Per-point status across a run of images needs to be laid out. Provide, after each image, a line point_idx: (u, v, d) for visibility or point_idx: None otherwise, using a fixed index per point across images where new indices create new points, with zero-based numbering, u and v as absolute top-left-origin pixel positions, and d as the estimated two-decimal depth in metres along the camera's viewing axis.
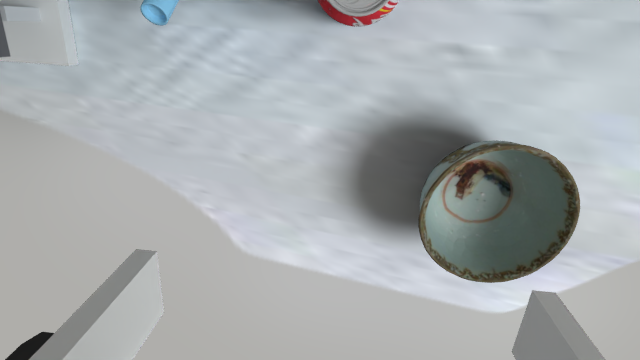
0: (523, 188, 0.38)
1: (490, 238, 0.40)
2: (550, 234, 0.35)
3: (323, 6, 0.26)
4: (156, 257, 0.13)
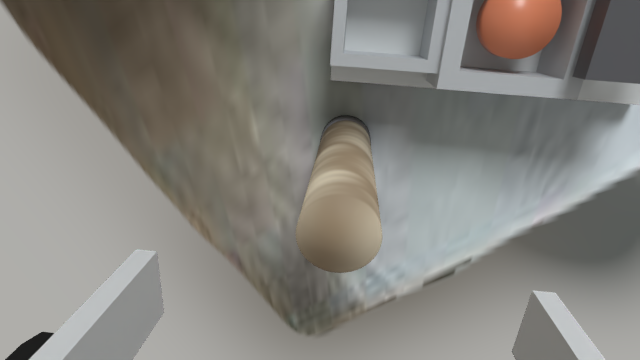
0: None
1: None
2: None
3: None
4: (156, 257, 0.13)
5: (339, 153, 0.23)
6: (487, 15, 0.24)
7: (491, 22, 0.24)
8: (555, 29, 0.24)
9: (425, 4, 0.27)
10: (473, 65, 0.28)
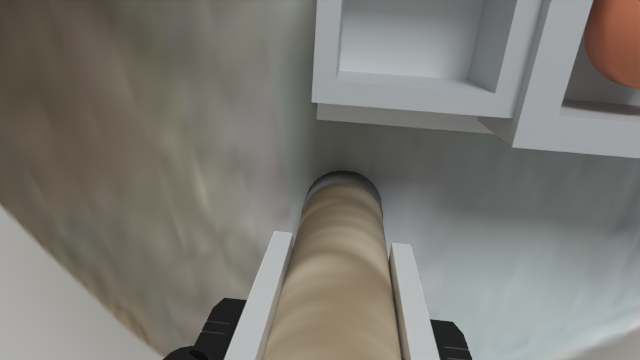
0: None
1: None
2: None
3: None
4: (292, 238, 0.15)
5: (327, 292, 0.11)
6: (620, 8, 0.12)
7: (627, 22, 0.12)
8: None
9: None
10: None
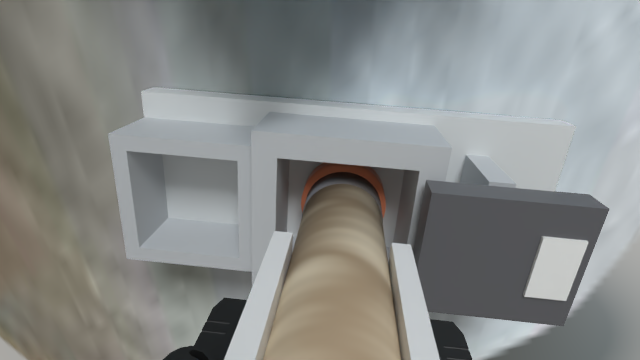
0: None
1: None
2: None
3: None
4: (292, 238, 0.15)
5: (327, 293, 0.11)
6: (304, 199, 0.21)
7: None
8: None
9: None
10: None
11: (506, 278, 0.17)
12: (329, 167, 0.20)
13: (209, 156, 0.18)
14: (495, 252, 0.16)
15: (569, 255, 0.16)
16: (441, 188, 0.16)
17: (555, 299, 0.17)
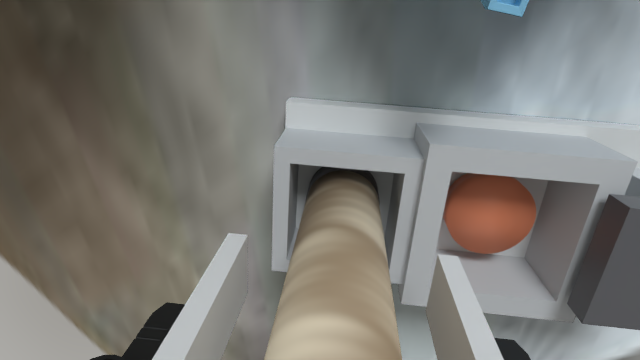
0: None
1: None
2: None
3: None
4: (246, 240, 0.15)
5: (330, 256, 0.13)
6: (451, 211, 0.21)
7: (456, 218, 0.21)
8: (529, 227, 0.21)
9: (390, 185, 0.22)
10: (449, 248, 0.23)
11: None
12: (483, 179, 0.20)
13: (376, 169, 0.18)
14: None
15: None
16: (633, 203, 0.16)
17: None
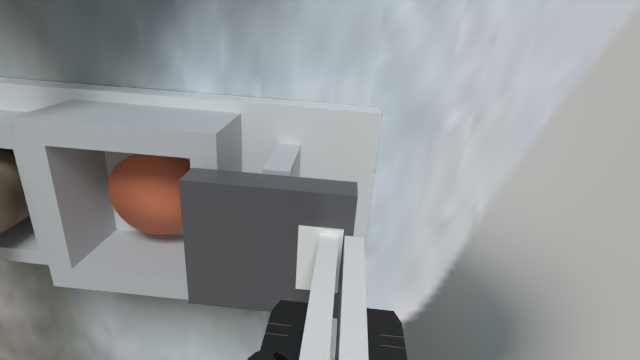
0: None
1: None
2: None
3: None
4: None
5: None
6: (111, 190, 0.20)
7: (118, 197, 0.20)
8: None
9: None
10: None
11: (276, 270, 0.16)
12: (129, 156, 0.19)
13: None
14: (257, 242, 0.16)
15: None
16: (195, 176, 0.15)
17: None
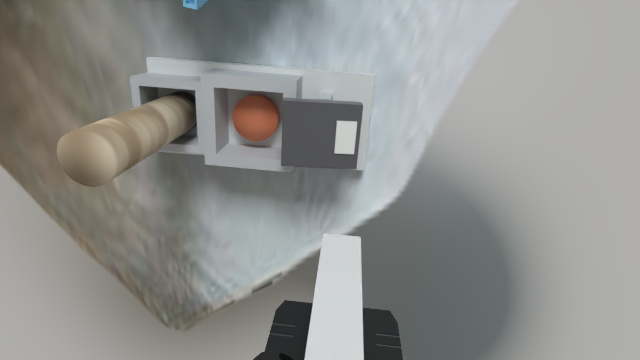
0: None
1: None
2: None
3: None
4: None
5: (128, 110, 0.31)
6: (234, 116, 0.39)
7: (237, 120, 0.39)
8: (275, 124, 0.39)
9: None
10: (246, 143, 0.41)
11: (325, 144, 0.35)
12: (246, 97, 0.38)
13: (180, 88, 0.36)
14: (317, 130, 0.34)
15: (350, 129, 0.34)
16: (288, 99, 0.34)
17: (349, 153, 0.35)
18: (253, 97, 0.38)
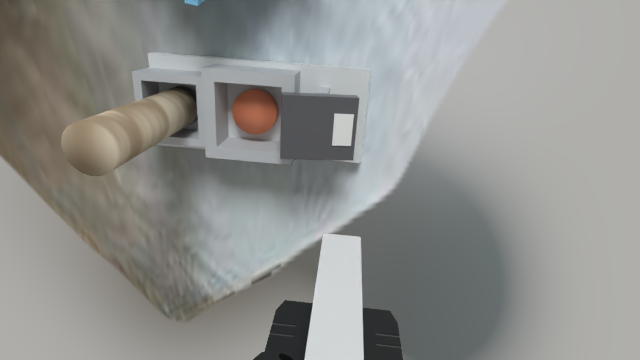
0: None
1: None
2: None
3: None
4: None
5: (129, 103, 0.32)
6: (233, 110, 0.40)
7: (237, 114, 0.40)
8: (274, 118, 0.40)
9: None
10: (246, 137, 0.42)
11: (323, 137, 0.36)
12: (245, 91, 0.39)
13: (181, 82, 0.37)
14: (315, 123, 0.35)
15: (347, 122, 0.35)
16: (287, 93, 0.34)
17: (346, 145, 0.36)
18: (252, 91, 0.39)
